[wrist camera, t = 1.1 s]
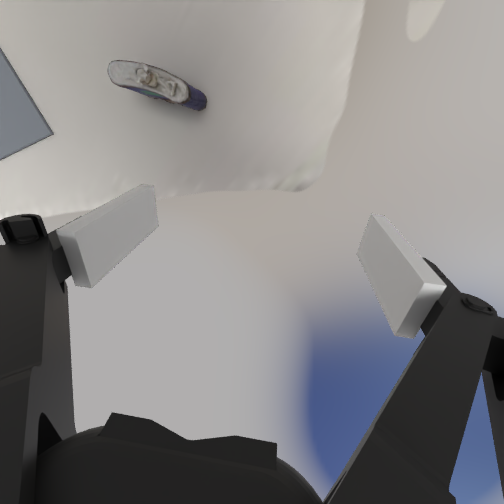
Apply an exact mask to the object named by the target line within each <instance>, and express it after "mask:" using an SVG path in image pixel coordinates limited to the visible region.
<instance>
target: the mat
mask: <svg viewBox="0 0 504 504" xmlns="http://www.w3.org/2000/svg"><path fill="white" fill-rule="evenodd" d="M52 134H53V132H52V130H51V129H50V127H49V126H48V124H47V122H46V121H45V119H44V117H43V116H42V114H41V113H40V111H39V109H38V108H37V106H36V105H35V103H34V101H33V100H32V98H31V97H30V95H29V93H28V92H27V90H26V89H25V87H24V85H23V84H22V82H21V80H20V79H19V77H18V76H17V74H16V72H15V71H14V69H13V68H12V66H11V64H10V63H9V61H8V60H7V58H6V56H5V55H4V53H3V52H2V50H1V48H0V160H1V159H3V158H5V157H7V156H10V155H12V154H14V153H16V152H18V151H20V150H22V149H24V148H26V147H28V146H30V145H32V144H34V143H36V142H38V141H40V140H42V139H44V138H46V137H48V136H50V135H52Z"/></svg>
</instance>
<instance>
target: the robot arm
mask: <svg viewBox="0 0 504 504" xmlns="http://www.w3.org/2000/svg"><path fill="white" fill-rule="evenodd" d="M157 227H158V218H157V209H156V200H155V192H154V186H152V185H144V184H141V185H139V186H137V187H136V188H134V189H132V190H130V191H128V192H126V193H124V194H123V195H121V196H119V197H117V198H115V199H113V200H111V201H109V202H108V203H106V204H104V205H102V206H100V207H98V208H96V209H94V210H93V211H91V212H89V213H87V214H85V215H83V216H81V217H79V218H77V219H75V220H73V221H71V222H69V223H67V224H66V225H64V226H62V227H60V228H58V229H56V230H54V231H52V232H50V233H49V234H47V231H46V229H45V226H44V224H43V221H42V218H41V216H39V215H35V214H21V215H15V216H11V217H7V218H4V219H2V220H0V232H1V235H2V236H3V239H4V241H5V243H6V244H5V245H0V504H456V499H455V497H454V496H453V495H452V494H451V493H450V492H449V484H450V480H451V477H452V473H453V470H454V466H455V463H456V459H457V456H458V452H459V449H460V445H461V441H462V438H463V435H464V431H465V428H466V424H467V420H468V417H469V413H470V410H471V406H472V403H473V400H474V396H475V393H476V389H477V386H478V382H479V379H480V375H481V372H482V376H483V382H484V388H485V393H486V399H487V405H488V411H489V416H490V422H491V428H492V434H493V440H494V445H495V451H496V457H497V463H498V468H499V474H500V480H501V486H502V491H503V497H504V318H501V317H498V316H497V312H496V311H495V309H494V308H493V307H492V306H491V305H489V304H488V303H486V302H485V301H483V300H481V299H479V298H477V297H475V296H472V295H469V294H465V293H461V292H460V291H459V290H458V289H457V288H456V287H455V286H454V285H453V284H452V283H451V281H450V280H449V279H448V278H446V276H445V275H444V274H443V273H442V272H441V271H440V270H439V269H438V267H437V266H436V265H435V264H433V263H432V262H430V261H429V260H427V259H426V258H422V257H421V256H420V255H419V254H418V253H417V251H416V250H415V249H414V248H413V247H412V246H411V245H410V244H409V243H408V241H407V240H406V239H405V238H404V237H403V236H402V234H401V233H400V232H399V231H398V230H397V229H396V228H395V227H394V225H393V224H392V223H391V222H390V221H389V220H388V219H387V217H386V216H385V215H379V214H371V215H370V218H369V220H368V223H367V226H366V229H365V232H364V235H363V237H362V240H361V243H360V246H359V249H358V251H357V256H358V258H359V260H360V262H361V264H362V266H363V268H364V271H365V273H366V275H367V277H368V279H369V281H370V284H371V286H372V288H373V290H374V292H375V294H376V296H377V298H378V301H379V303H380V305H381V307H382V309H383V312H384V314H385V316H386V318H387V320H388V322H389V324H390V327H391V329H392V331H393V333H394V335H395V336H400V337H406V338H413V339H414V337H415V336H416V334H417V332H418V331H419V330H420V328H421V329H422V331H423V333H424V334H425V338H424V339H423V341H422V342H421V344H420V345H419V347H418V348H417V350H416V351H415V353H414V354H413V357H412V358H411V360H410V362H409V363H408V365H407V367H406V368H405V370H404V371H403V373H402V375H401V376H400V378H399V380H398V381H397V383H396V384H395V386H394V388H393V389H392V391H391V393H390V394H389V396H388V398H387V399H386V401H385V403H384V404H383V406H382V407H381V409H380V411H379V412H378V414H377V416H376V417H375V419H374V420H373V422H372V424H371V426H370V427H369V429H368V430H367V432H366V433H365V435H364V437H363V438H362V440H361V442H360V443H359V445H358V447H357V448H356V450H355V452H354V453H353V455H352V456H351V458H350V460H349V461H348V463H347V464H346V466H345V468H344V469H343V471H342V473H341V474H340V476H339V477H338V479H337V481H336V482H335V484H334V485H333V487H332V488H331V490H330V492H329V493H328V495H327V496H326V498H325V499H324V501H323V502H322V501H321V499H320V497H319V496H318V495H317V493H316V492H315V491H314V489H313V488H312V486H311V485H310V484H309V483H308V482H307V481H306V480H305V478H304V477H303V476H302V475H301V474H300V473H298V472H297V471H296V470H295V469H294V468H293V467H291V466H290V465H289V464H287V463H286V462H284V461H283V460H281V459H279V458H277V443H272V442H267V441H262V440H256V439H251V438H246V437H240V436H227V437H219V438H210V439H201V440H187V439H185V438H183V437H181V436H179V435H178V434H176V433H174V432H172V431H170V430H168V429H167V428H165V427H163V426H161V425H160V424H158V423H156V422H154V421H152V420H150V419H145V418H139V417H134V416H128V415H123V414H118V413H111V415H110V417H109V419H108V420H107V422H106V424H105V426H100V427H96V428H92V429H88V430H86V431H83V432H80V433H76V430H75V423H74V406H73V388H72V370H71V369H72V368H71V349H70V329H69V312H68V311H69V310H68V291H67V285H66V282H65V279H67V278H68V277H69V276H71V275H72V277H73V280H74V283H75V285H76V286H80V287H87V288H93V287H94V286H95V285H96V284H97V283H98V282H99V281H100V280H101V279H102V278H103V277H104V276H105V275H106V274H108V273H109V272H110V271H111V270H112V269H113V268H114V267H115V266H116V265H117V264H118V263H119V262H120V261H121V260H123V259H124V258H125V257H126V256H127V255H128V254H129V253H130V252H131V251H132V250H133V249H135V248H136V247H137V246H138V245H139V244H140V243H141V242H142V241H143V240H144V239H145V238H146V237H148V236H149V235H150V234H151V233H152V232H153V231H154V230H155V229H156V228H157Z"/></svg>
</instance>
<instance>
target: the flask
mask: <svg viewBox="0 0 504 504" xmlns="http://www.w3.org/2000/svg"><path fill="white" fill-rule="evenodd" d="M108 74H109V77H110V79H111V81H112V82H113V83H114V84H116V85H118V86H120V87H123V88H127V89H130V90H133V91H136V92H139V93H141V94H144V95H146V96H148V97H153V98H154V99H157V98H160V99H164V100H166V101H167V102H170V103H173V104H174V103H178V104H181V105H182V106H183V105H184V106H186V107H189V108H192V109H194V110H198V111H201V110H203V109H204V108H206V103H207V99H206V96H205V95H204V94H203V93H202V92H201V91H199V90H198V89H195V88H193V87H192V86H190V85H189V84H187V83H186V82H185V81H183V80H182V79H180V78H178V77H177V76H175V75H173V74H171V73H168V72H167V71H165V70H162V69H160V68H157V67H154V66H150V65H147V64H144V63H138V62H132V61H123V60H116V61H112V62H111V63H110V64H109V67H108Z"/></svg>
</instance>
